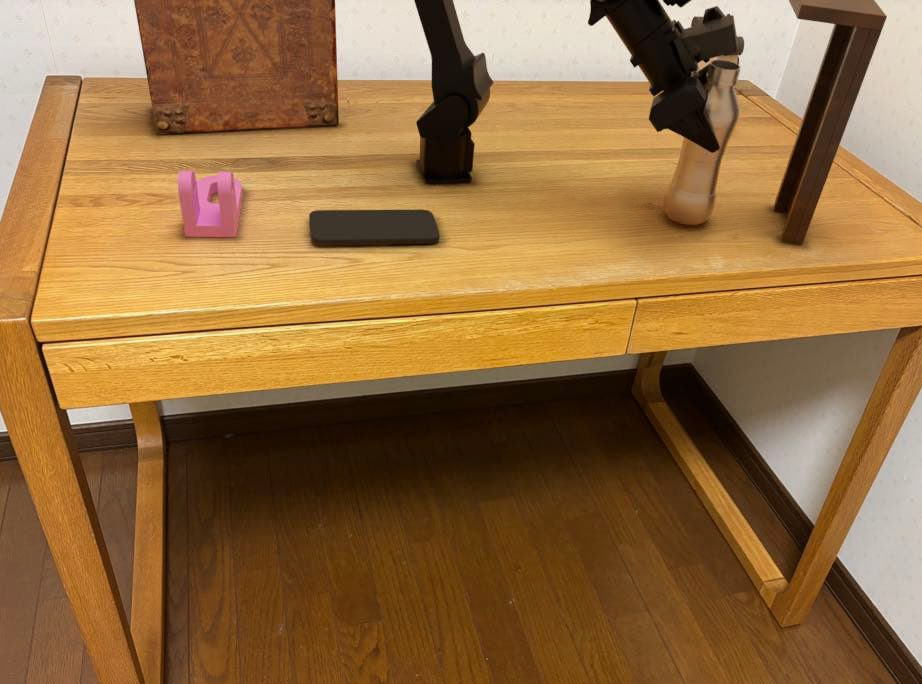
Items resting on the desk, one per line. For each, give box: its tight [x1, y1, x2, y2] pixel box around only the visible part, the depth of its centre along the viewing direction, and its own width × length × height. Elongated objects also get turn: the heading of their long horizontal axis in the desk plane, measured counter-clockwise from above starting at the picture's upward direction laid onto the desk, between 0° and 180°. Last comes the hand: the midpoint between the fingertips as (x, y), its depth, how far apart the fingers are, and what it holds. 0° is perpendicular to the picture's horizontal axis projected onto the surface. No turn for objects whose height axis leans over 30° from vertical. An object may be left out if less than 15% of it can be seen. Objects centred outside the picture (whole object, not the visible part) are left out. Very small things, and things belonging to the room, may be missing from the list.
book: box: [133, 0, 340, 135], centre depth 114 cm, size 25×9×30 cm, turn 110°
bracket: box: [177, 170, 244, 238], centre depth 99 cm, size 13×6×7 cm, turn 8°
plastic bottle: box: [663, 60, 741, 226], centre depth 105 cm, size 6×7×20 cm
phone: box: [308, 209, 440, 246], centre depth 101 cm, size 7×1×15 cm
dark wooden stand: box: [772, 0, 888, 246], centre depth 104 cm, size 9×10×28 cm
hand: (717, 140), depth 104 cm, fingers closed on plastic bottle, 6 cm apart
